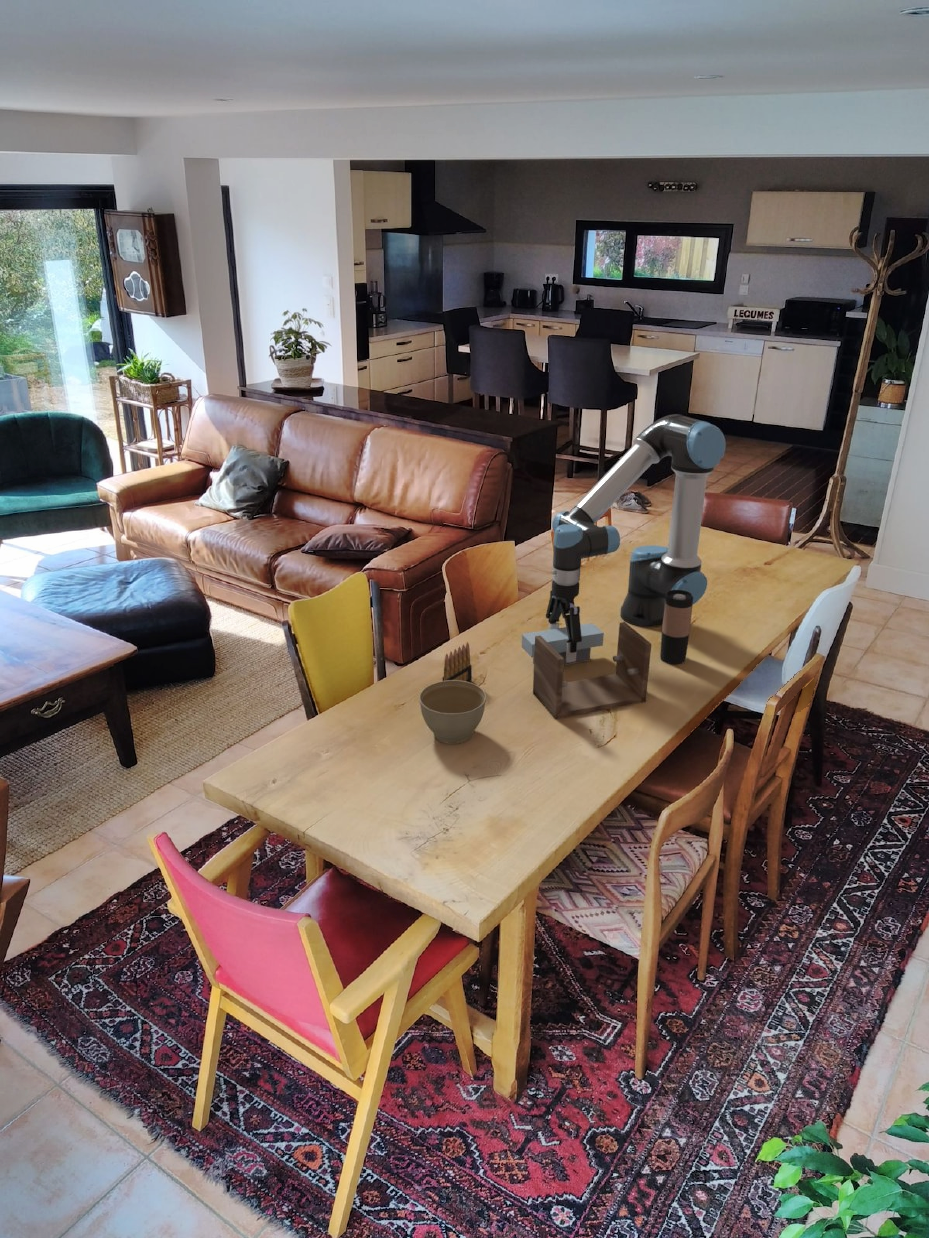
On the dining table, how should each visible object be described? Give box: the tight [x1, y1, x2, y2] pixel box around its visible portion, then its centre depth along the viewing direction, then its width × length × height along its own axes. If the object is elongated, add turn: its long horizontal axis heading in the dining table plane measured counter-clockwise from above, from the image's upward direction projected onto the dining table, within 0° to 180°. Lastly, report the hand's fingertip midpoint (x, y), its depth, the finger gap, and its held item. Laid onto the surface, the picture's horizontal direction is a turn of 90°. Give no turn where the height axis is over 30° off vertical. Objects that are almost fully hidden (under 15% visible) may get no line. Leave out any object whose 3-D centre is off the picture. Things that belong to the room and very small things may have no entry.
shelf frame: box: [532, 621, 652, 720], centre depth 238 cm, size 26×14×17 cm, turn 110°
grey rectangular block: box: [532, 647, 592, 666], centre depth 259 cm, size 16×4×5 cm, turn 110°
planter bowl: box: [418, 680, 487, 745], centre depth 223 cm, size 16×16×11 cm
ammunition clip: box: [442, 641, 473, 683], centre depth 244 cm, size 11×2×12 cm, turn 142°
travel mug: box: [659, 590, 694, 665], centre depth 258 cm, size 8×8×20 cm
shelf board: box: [521, 622, 605, 658], centre depth 257 cm, size 22×7×4 cm, turn 110°
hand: (561, 652), depth 259 cm, fingers open, 11 cm apart
